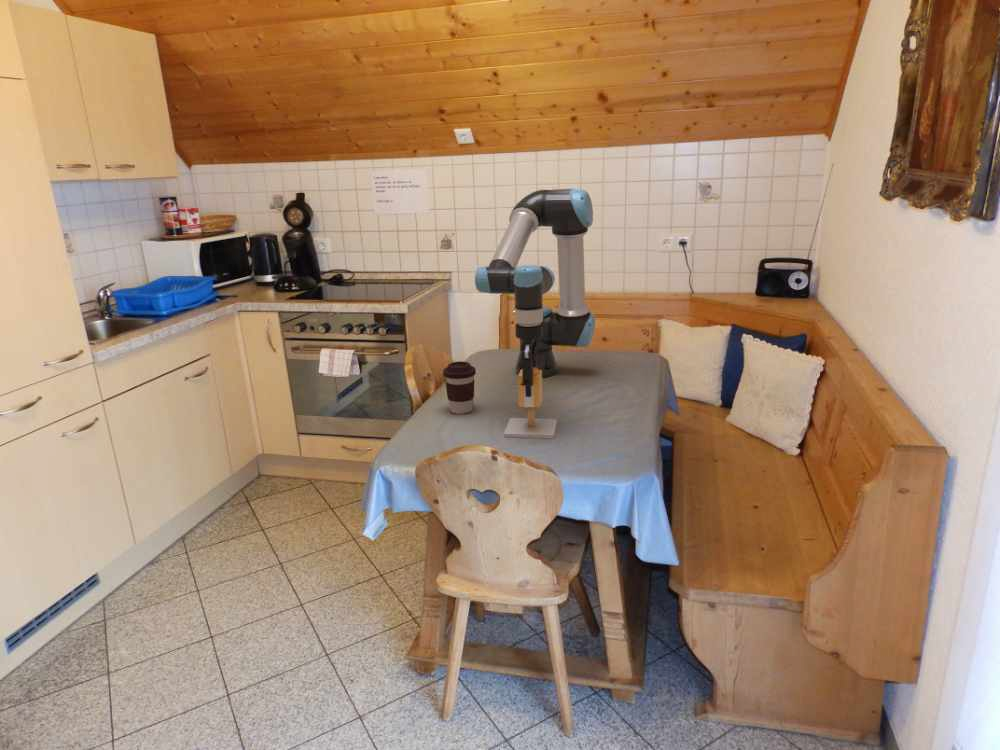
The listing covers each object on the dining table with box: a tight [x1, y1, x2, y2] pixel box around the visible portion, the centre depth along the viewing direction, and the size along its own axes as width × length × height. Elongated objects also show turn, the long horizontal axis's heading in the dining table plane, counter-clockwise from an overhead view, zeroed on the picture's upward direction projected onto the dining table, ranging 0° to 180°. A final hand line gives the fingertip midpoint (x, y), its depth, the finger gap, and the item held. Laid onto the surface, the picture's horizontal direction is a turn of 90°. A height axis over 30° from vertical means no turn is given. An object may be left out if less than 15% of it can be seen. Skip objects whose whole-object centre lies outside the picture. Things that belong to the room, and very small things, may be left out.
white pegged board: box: [503, 407, 558, 440], centre depth 193 cm, size 12×14×7 cm
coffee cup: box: [442, 361, 477, 415], centre depth 208 cm, size 10×10×15 cm
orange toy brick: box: [517, 367, 543, 408], centre depth 190 cm, size 6×6×10 cm
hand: (530, 402), depth 191 cm, fingers closed on orange toy brick, 6 cm apart
